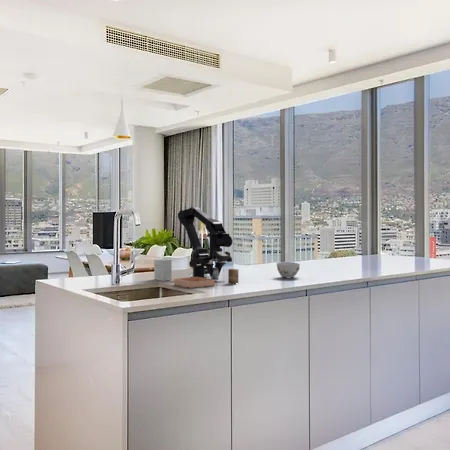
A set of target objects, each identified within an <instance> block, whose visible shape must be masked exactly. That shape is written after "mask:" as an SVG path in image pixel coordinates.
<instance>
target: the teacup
mask: <svg viewBox="0 0 450 450" xmlns="http://www.w3.org/2000/svg"><path fill="white" fill-rule="evenodd" d="M300 265H301V264H300V263H297V262H289V261H279V262H277V263H276V268H277V271H278V273H279V275H280V276H281V278H283V277H293V278H294V277H296V276H297V274H298V272H299V270H300Z"/></svg>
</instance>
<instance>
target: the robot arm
mask: <svg viewBox="0 0 450 450" xmlns="http://www.w3.org/2000/svg"><path fill="white" fill-rule="evenodd" d="M195 218H196V219H197V220H198V221H200V222H201V223H202V224H203V225H204V226H205V229H206V231H207V232H208V233H207V234H206V237H207V238H209V241H208V242H209V243H208V244H209V246H208V247H207V248H205V247H203V246H202V244H201V243H202V242H201V241H200V238H199V235H198V232H197V230H196V227H195V224H194V223H195ZM177 219H178V220H179V223H180V224H181V225H182V226H183V227H184V228H185V231H186V234H187V238H188V239H189V243H190V245H191V248H192V254H191V260H190V261H189V265H188V266H189V267H190V268H192V277H202V278H208V277H207V276H206V275H205V272H206V271H205V268H206V270H207V272H208V275H209V277H210V278H211V277H212V267H213V266H214V265H215V267H218V268H219V275H220V274H221V270H222V268H223V267H224V266H225V265H226V264H227V262H228V263H230V262H233V258H232V256H231V253H230V251H227V250H226V251H223V248H230V247H231V246H232V244H233V238H232V237H231V236H230V233H227V232H226V230H225V228H224V226H223V223H222V222H221V221H219V219H218V220H217V219H214V218H212V217H210V216H209V215H208V214H206V212H204V211H203V210H202V209H201V208H200V207H199V206H192V207H189V208H186V209H183V210H182V209H181V210H180V211H178V213H177ZM213 262H215V264H214V263H213Z"/></svg>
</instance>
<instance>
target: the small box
mask: <svg viewBox="0 0 450 450" xmlns="http://www.w3.org/2000/svg"><path fill="white" fill-rule="evenodd" d="M153 261H154V262H153V264H154V265H153V268H154V270H153V271H154V272H153V273H154V274H153V275H154V278H153V279H154V280H155V279H156V281H161V282H166V281H172V273H173V272H172V259H167V258H157V259H156V258H155V259H153Z"/></svg>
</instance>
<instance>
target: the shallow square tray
mask: <svg viewBox="0 0 450 450" xmlns="http://www.w3.org/2000/svg"><path fill="white" fill-rule="evenodd" d="M173 280H174V281H173V285H174V286H177V285H178V287H181V286H183V287H182V288H186V287H189V288H188V289H195V288H194V287H200V288H205V287H204V286H210V287H215V286H214V285H216V282H215V281H216V280H213V279H211V278H208V277H207V278H202V277H193V276H190V277H181V278H180V277H178V278H174V279H173Z"/></svg>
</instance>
